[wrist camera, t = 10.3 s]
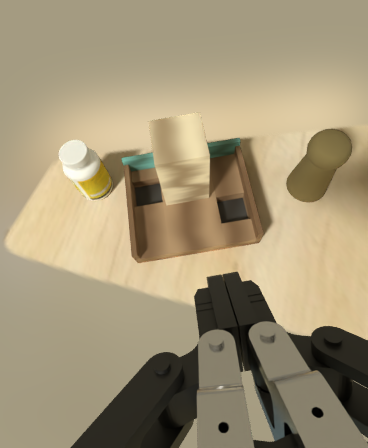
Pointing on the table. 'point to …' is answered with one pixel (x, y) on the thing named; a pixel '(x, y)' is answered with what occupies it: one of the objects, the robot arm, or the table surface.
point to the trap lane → (191, 208)
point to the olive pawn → (319, 165)
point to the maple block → (181, 157)
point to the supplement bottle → (85, 170)
